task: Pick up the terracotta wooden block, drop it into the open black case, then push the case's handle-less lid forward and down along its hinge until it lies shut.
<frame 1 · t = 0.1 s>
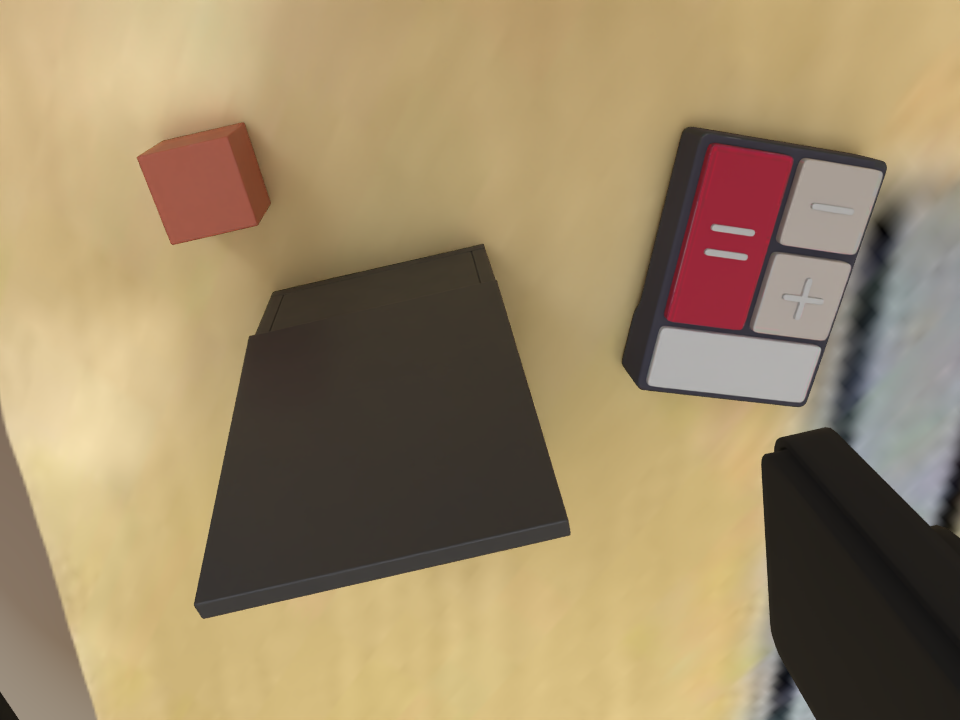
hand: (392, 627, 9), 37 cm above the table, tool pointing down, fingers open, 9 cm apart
calculator: (733, 263, 48), on the table
case lid: (378, 416, 32), point 15 cm above the table, hinge at 80.0°
case: (410, 383, 49), on the table
block: (217, 173, 42), on the table
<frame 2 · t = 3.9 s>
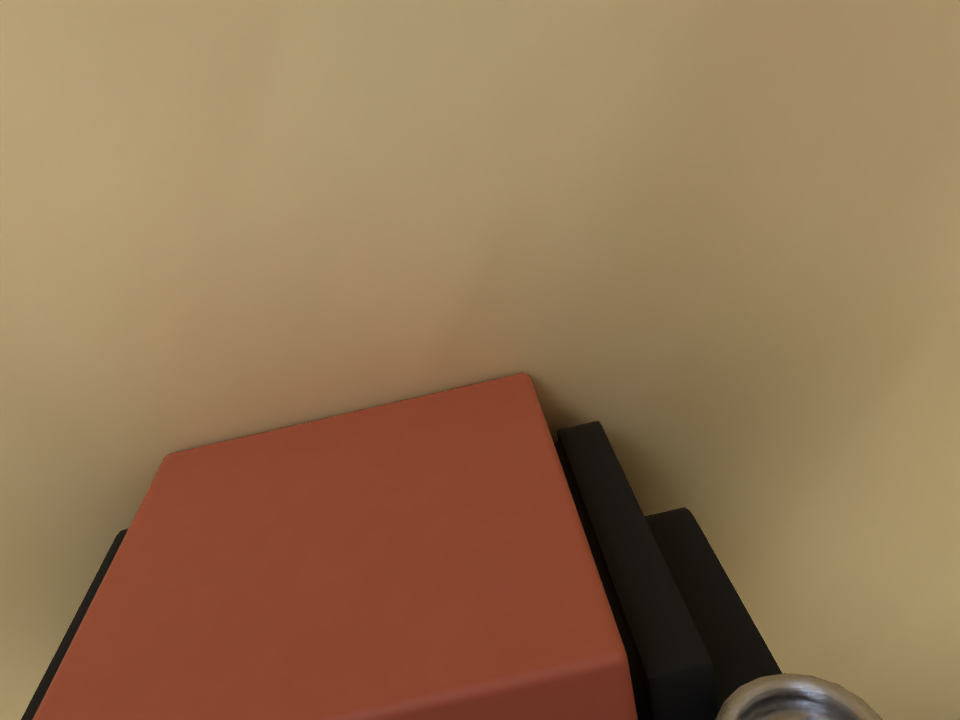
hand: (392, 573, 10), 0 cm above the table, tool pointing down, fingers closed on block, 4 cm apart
block: (392, 554, 10), on the table, touching gripper
when the fingers open (7 cm above the table, at t = 11.2 s): block drops 6 cm, resting on case.
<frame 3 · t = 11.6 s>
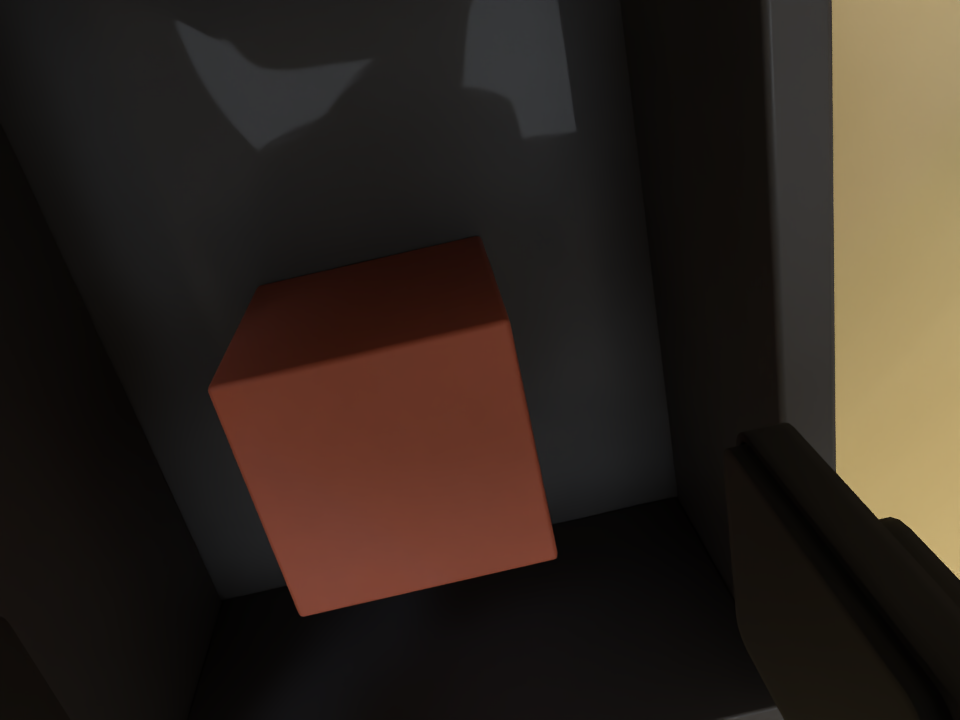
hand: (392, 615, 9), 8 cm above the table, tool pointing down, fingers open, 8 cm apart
case: (372, 259, 16), on the table
block: (396, 360, 16), point 1 cm above the table, touching case
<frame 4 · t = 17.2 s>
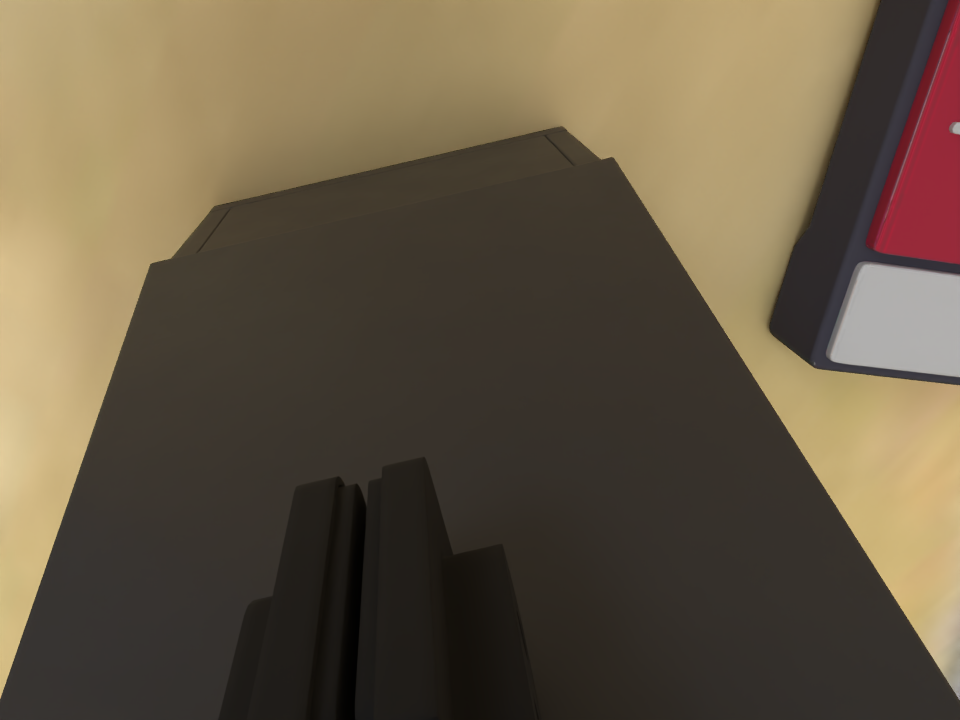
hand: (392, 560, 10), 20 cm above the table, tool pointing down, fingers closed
calculator: (956, 164, 30), on the table
case lid: (405, 433, 15), point 15 cm above the table, hinge at 76.2°, touching gripper
case: (438, 360, 31), on the table
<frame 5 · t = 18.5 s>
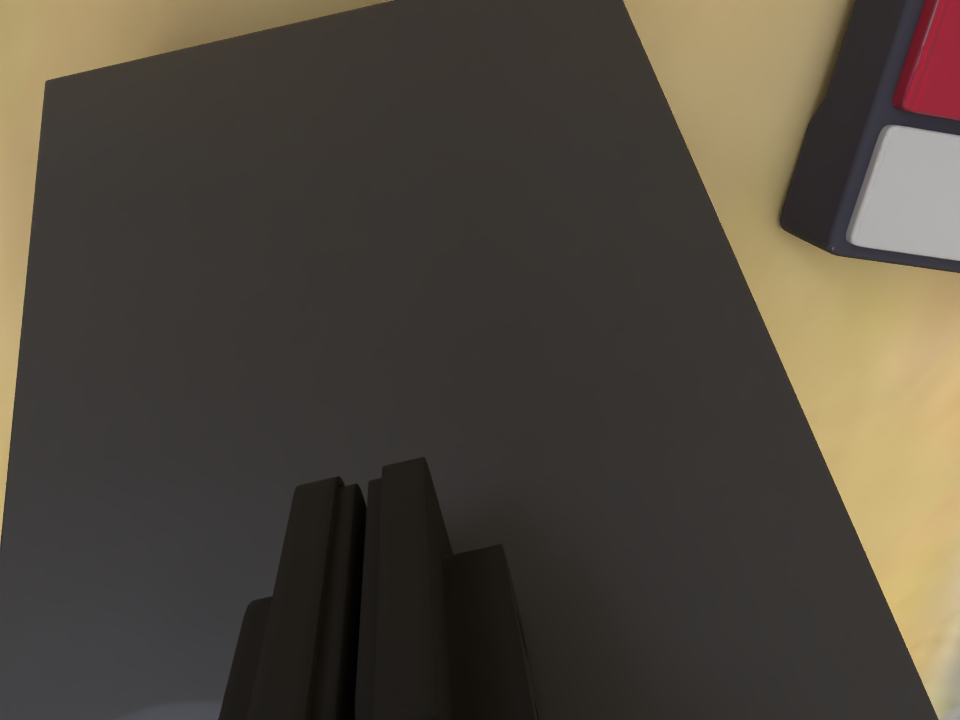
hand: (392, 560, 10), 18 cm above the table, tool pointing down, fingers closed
case lid: (375, 335, 14), point 14 cm above the table, hinge at 54.1°, touching gripper
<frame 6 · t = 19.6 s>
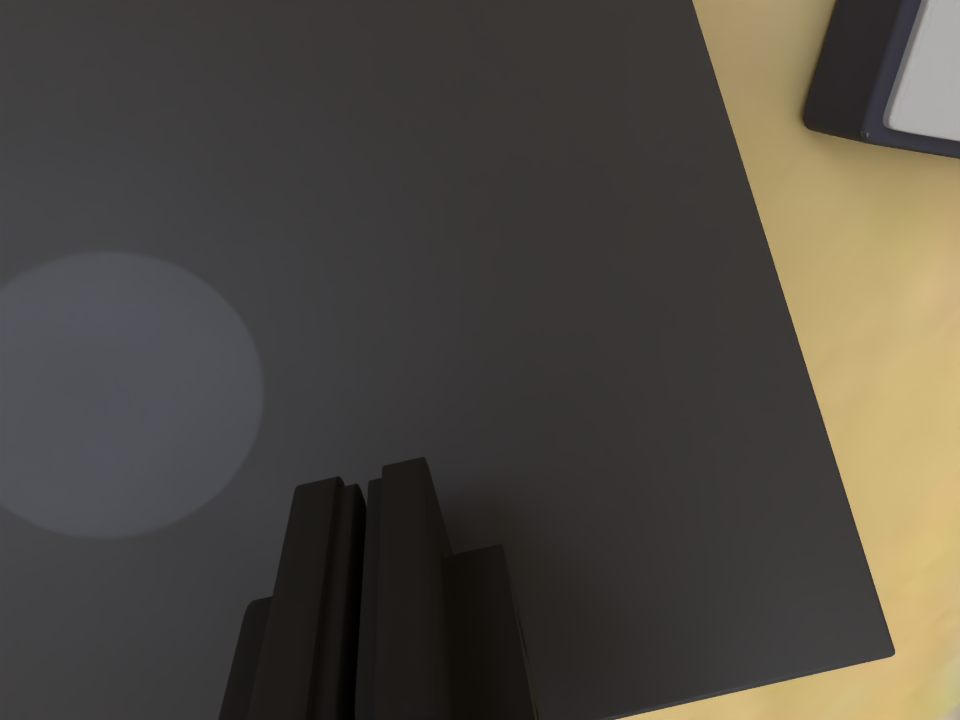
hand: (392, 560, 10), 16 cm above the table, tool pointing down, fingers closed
case lid: (339, 217, 12), point 12 cm above the table, hinge at 37.1°
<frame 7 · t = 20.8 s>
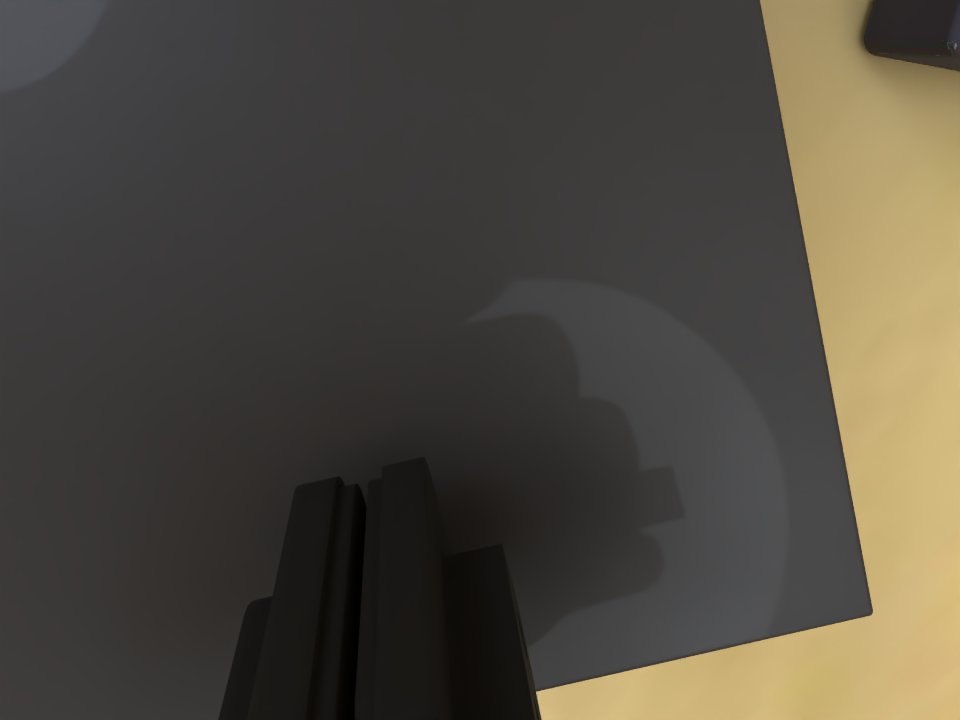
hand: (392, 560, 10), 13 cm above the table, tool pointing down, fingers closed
case lid: (302, 146, 11), point 10 cm above the table, hinge at 20.4°, touching gripper
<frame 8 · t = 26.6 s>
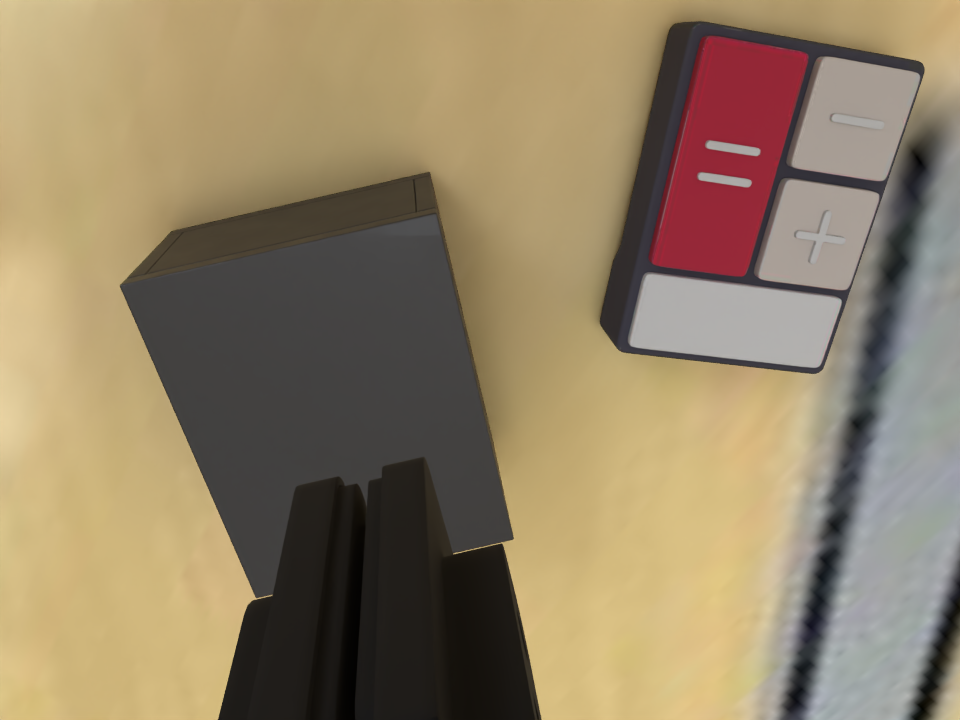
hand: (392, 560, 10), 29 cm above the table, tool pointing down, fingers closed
calculator: (733, 198, 39), on the table
case lid: (337, 421, 34), point 7 cm above the table, hinge at 0.2°
case: (345, 347, 40), on the table
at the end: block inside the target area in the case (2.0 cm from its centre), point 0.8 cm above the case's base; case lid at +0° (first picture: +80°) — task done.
